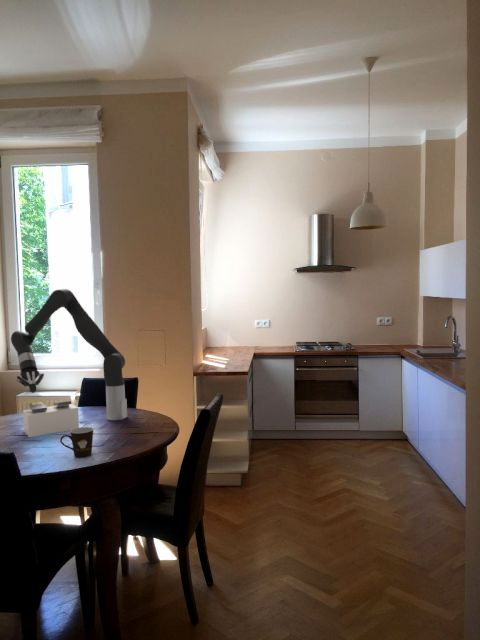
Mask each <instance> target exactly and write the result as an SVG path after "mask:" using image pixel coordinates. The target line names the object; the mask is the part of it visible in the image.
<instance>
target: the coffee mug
mask: <svg viewBox="0 0 480 640" xmlns="http://www.w3.org/2000/svg"><path fill="white" fill-rule="evenodd" d="M69 431H70V433H69V434H70V435H68V434H65V435H62V436H61V437H60V439H59V440H60V443H61V445H62V446H64V447H65V448H68V449H69V450H72V451H73V456H74V458H76V459H84V458H88V457H91V456H92V455H93V454H92V453H93V441H94V440H93V439H94V428H93V427H89V426H84V427H83V426H82V427H79V428H76V429H73V430H69ZM65 437H66V438H69V439H70V440H71V443H72V446H68V445H67V444H65V443H63V439H64V438H65Z"/></svg>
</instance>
